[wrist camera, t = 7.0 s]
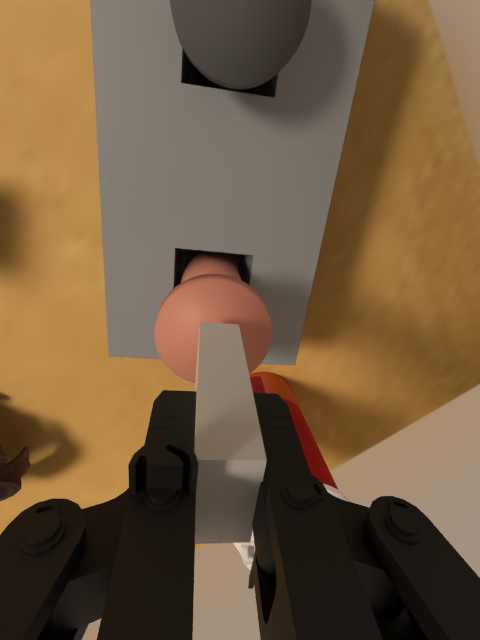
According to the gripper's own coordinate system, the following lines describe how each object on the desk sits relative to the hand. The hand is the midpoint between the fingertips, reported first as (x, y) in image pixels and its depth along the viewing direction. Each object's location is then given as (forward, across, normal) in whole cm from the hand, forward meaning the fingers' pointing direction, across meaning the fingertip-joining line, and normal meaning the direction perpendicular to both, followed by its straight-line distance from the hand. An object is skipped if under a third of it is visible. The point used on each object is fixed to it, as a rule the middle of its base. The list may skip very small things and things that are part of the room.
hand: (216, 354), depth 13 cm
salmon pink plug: (+10, 0, 0) cm, 10 cm away
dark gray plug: (+13, 0, +12) cm, 17 cm away
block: (+14, 0, +6) cm, 16 cm away
